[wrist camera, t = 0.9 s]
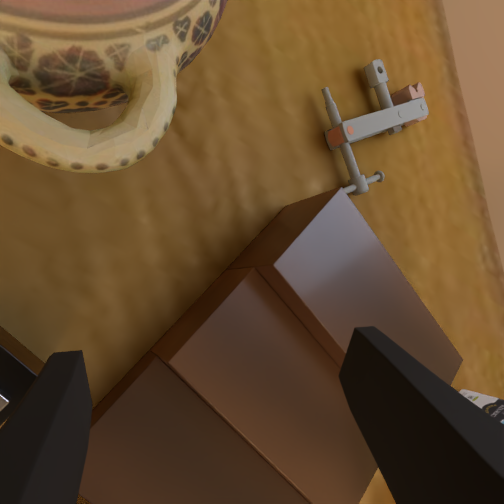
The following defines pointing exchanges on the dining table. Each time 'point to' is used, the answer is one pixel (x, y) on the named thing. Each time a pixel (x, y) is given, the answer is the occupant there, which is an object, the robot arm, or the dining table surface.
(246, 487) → the step shelf
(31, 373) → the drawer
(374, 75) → the clamp
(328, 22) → the dining table surface
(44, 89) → the ceramic bowl
